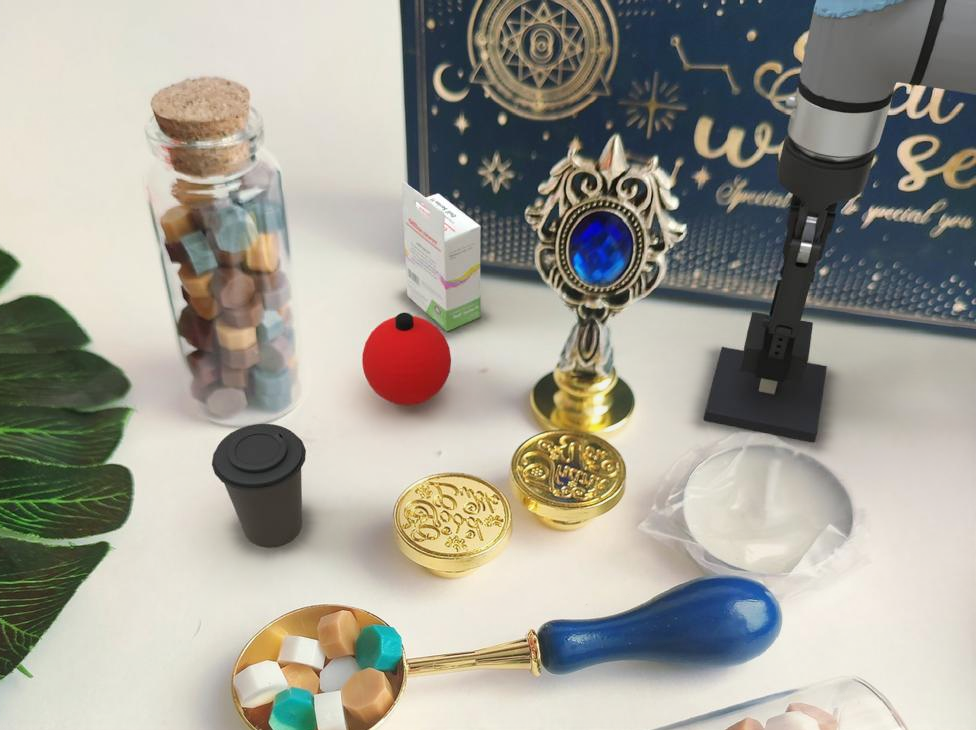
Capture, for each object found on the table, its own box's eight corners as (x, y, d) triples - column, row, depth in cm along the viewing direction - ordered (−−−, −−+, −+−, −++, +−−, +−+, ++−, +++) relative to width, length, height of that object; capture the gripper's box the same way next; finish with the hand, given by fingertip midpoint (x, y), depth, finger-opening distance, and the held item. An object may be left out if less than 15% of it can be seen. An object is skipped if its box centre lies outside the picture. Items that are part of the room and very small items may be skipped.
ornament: (377, 362, 116) (370, 284, 108) (459, 372, 115) (458, 293, 107) (356, 417, 110) (347, 339, 102) (442, 428, 109) (440, 349, 101)
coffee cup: (332, 509, 101) (321, 430, 94) (288, 570, 96) (273, 491, 89) (258, 484, 103) (242, 405, 96) (211, 542, 98) (190, 464, 91)
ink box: (483, 318, 121) (484, 200, 110) (446, 333, 119) (443, 215, 108) (441, 281, 126) (437, 165, 115) (405, 295, 124) (398, 178, 113)
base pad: (719, 355, 116) (724, 332, 114) (824, 374, 114) (831, 352, 112) (703, 420, 109) (707, 397, 107) (814, 442, 107) (821, 420, 104)
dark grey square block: (746, 335, 110) (752, 311, 108) (806, 346, 109) (813, 322, 107) (739, 371, 106) (745, 347, 104) (801, 382, 105) (808, 358, 103)
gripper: (797, 85, 98) (748, 296, 115) (772, 190, 85) (721, 409, 102) (883, 97, 96) (820, 309, 113) (869, 205, 84) (802, 425, 101)
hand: (773, 356), depth 108 cm, fingers closed on dark grey square block, 6 cm apart
